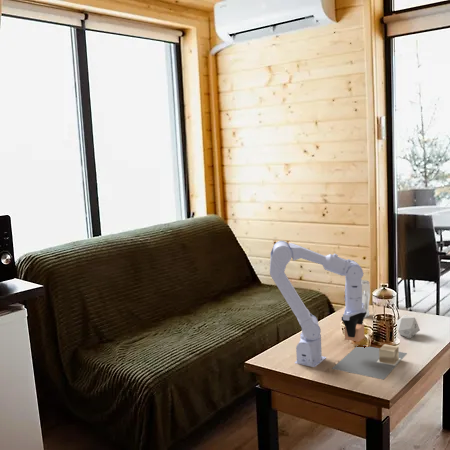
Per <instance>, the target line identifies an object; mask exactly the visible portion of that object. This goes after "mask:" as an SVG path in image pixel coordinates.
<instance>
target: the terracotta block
mask: <svg viewBox="0 0 450 450" xmlns="http://www.w3.org/2000/svg"><path fill="white" fill-rule="evenodd" d="M364 338H365V324H357V325H356V331H355V337H348V334H347V330H346V327H345V326H344V340H348V341H352V342H358V343H359V342H360V341H362V340H363V339H364Z"/></svg>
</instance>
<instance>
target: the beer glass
mask: <svg viewBox="0 0 450 450" xmlns="http://www.w3.org/2000/svg"><path fill="white" fill-rule="evenodd" d="M361 283H362V303H364V307H365V308H364V309H365V310H366V315H365V317H364V319H366V318H369V317H370V316H371V315H370V310H369V306H370V298H371V286H370V280H365V279H362V281H361Z"/></svg>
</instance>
